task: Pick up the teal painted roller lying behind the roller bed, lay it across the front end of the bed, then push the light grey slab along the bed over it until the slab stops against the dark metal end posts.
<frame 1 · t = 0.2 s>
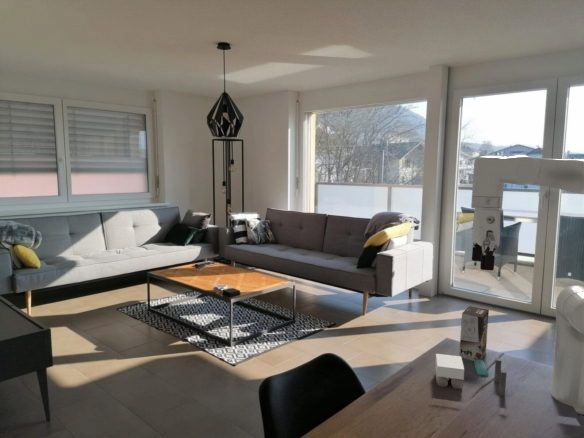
hand: (482, 265, 117), 36 cm above the table, tool pointing down, fingers open, 9 cm apart
coffee box: (472, 358, 140), on the table
roller bed: (466, 387, 122), on the table
roller: (481, 369, 130), point 1 cm above the table
slab: (449, 366, 123), point 6 cm above the table, slide at 9.0 cm
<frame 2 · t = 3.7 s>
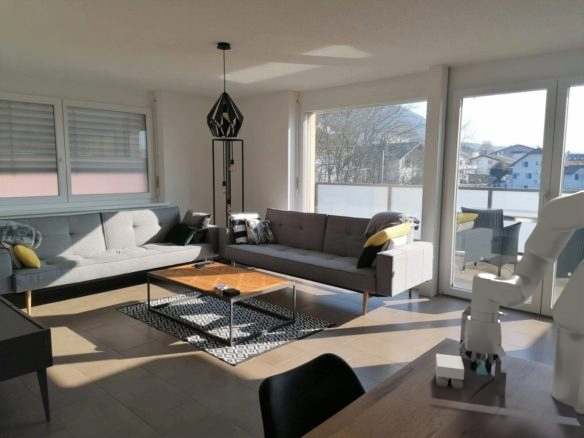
hand: (480, 372, 131), 0 cm above the table, tool pointing down, fingers closed on roller, 3 cm apart
roller: (480, 368, 130), point 1 cm above the table, touching gripper
everything else where it was.
when the fingers open (3 cm above the table, at t = 8.1 s): roller drops 1 cm, resting on roller bed.
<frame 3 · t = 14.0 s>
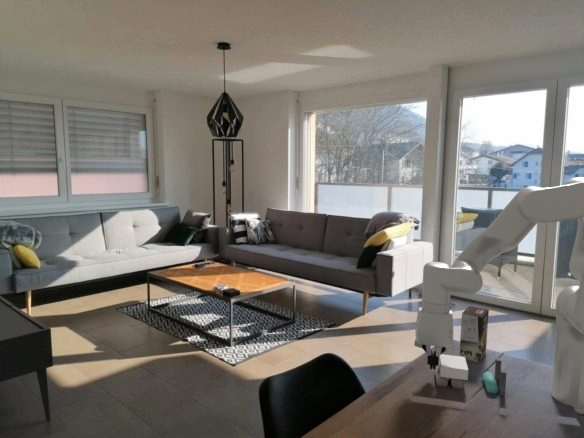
hand: (432, 367, 124), 5 cm above the table, tool pointing down, fingers closed
roller: (490, 382, 120), point 2 cm above the table, tilted 19°, touching roller bed
slab: (453, 366, 123), point 6 cm above the table, slide at 8.0 cm, touching gripper
everything else where it was.
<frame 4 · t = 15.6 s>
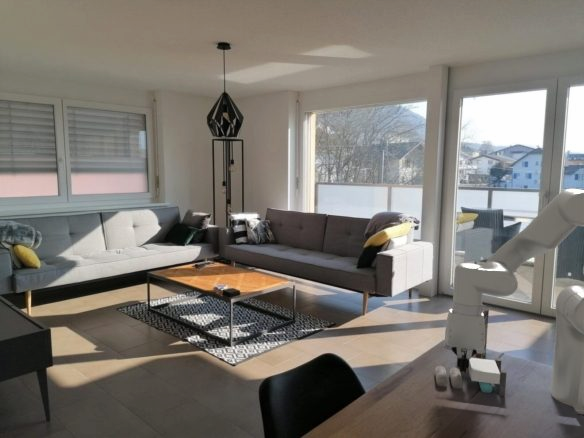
hand: (462, 369, 122), 5 cm above the table, tool pointing down, fingers closed
roller: (484, 381, 121), point 2 cm above the table, tilted 37°, touching roller bed
slab: (483, 370, 120), point 6 cm above the table, slide at 0.0 cm, touching gripper
everything else where it was.
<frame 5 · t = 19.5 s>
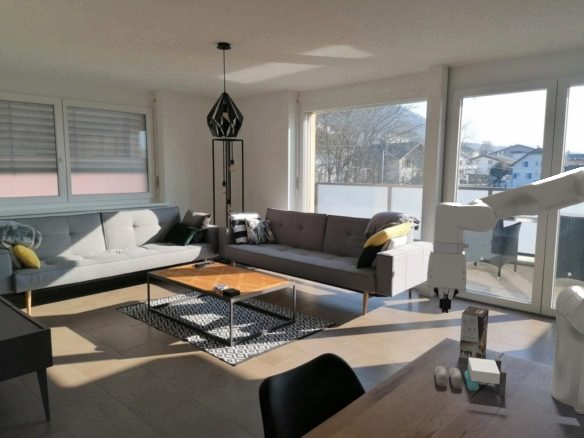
hand: (444, 311, 121), 22 cm above the table, tool pointing down, fingers closed
roller: (471, 380, 122), point 2 cm above the table, tilted 169°, touching roller bed
slab: (483, 370, 120), point 6 cm above the table, slide at 0.0 cm
everything else where it was.
at the end: slab slide at 0.0 cm; roller 2.8 cm from the target spot, point 2.5 cm above the table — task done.
